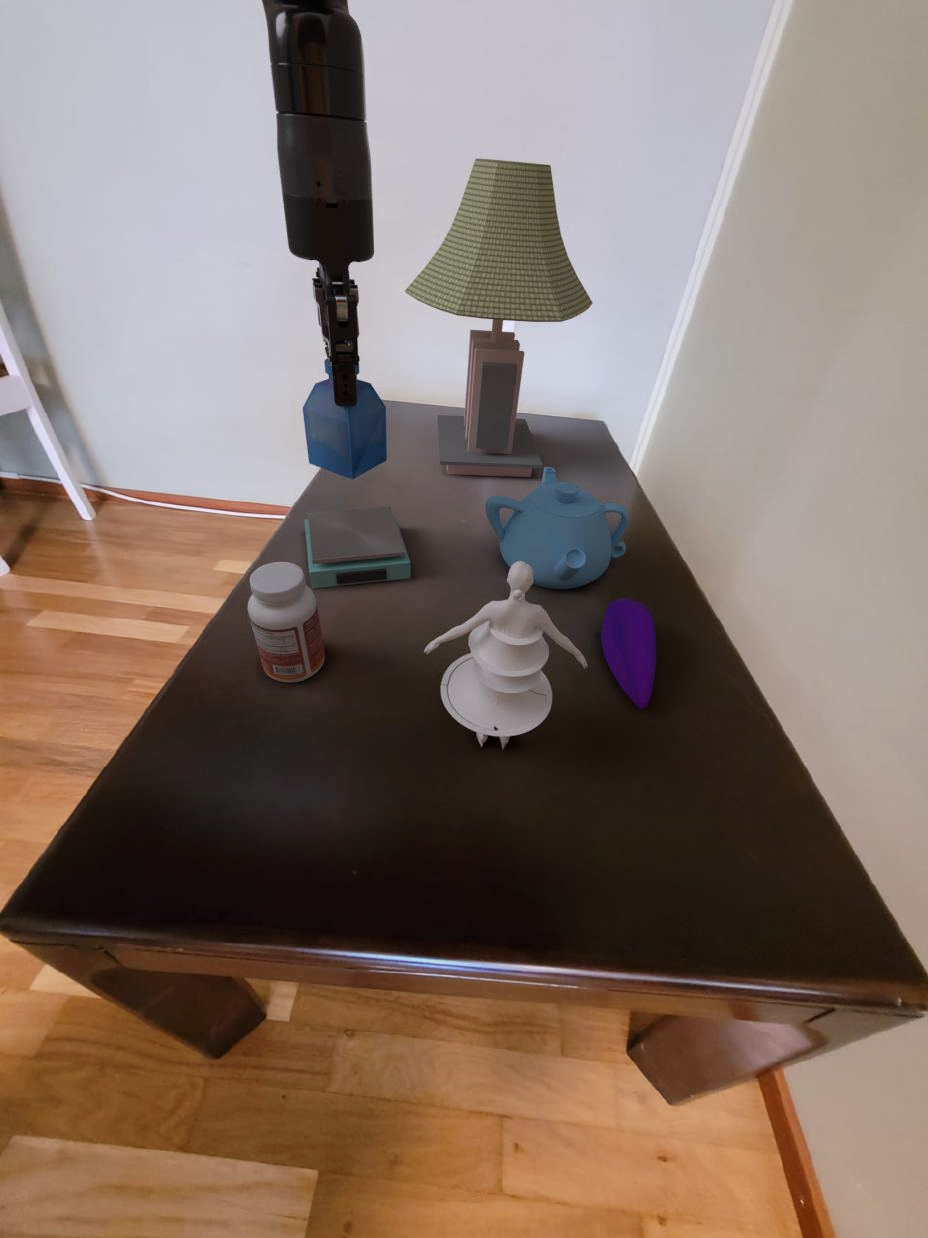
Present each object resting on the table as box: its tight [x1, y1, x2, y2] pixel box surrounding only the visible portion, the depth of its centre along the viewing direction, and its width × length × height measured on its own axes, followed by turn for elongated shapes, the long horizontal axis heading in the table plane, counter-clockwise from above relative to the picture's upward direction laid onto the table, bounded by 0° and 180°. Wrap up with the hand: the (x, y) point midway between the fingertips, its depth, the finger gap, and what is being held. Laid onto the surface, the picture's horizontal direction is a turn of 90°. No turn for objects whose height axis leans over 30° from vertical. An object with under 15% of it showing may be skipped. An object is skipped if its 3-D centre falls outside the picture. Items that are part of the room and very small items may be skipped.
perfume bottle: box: [302, 344, 388, 481], centre depth 58 cm, size 6×6×12 cm
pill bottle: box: [247, 561, 326, 684], centre depth 52 cm, size 6×6×11 cm
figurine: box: [423, 561, 588, 750], centre depth 44 cm, size 13×10×20 cm
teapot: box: [485, 466, 630, 590], centre depth 68 cm, size 15×17×11 cm
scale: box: [304, 512, 411, 590], centre depth 69 cm, size 12×12×3 cm
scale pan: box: [306, 506, 406, 564], centre depth 68 cm, size 11×11×1 cm
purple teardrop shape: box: [600, 597, 657, 710], centre depth 57 cm, size 5×5×15 cm
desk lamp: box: [404, 158, 594, 478], centre depth 83 cm, size 26×28×40 cm
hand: (342, 393), depth 57 cm, fingers closed on perfume bottle, 5 cm apart
